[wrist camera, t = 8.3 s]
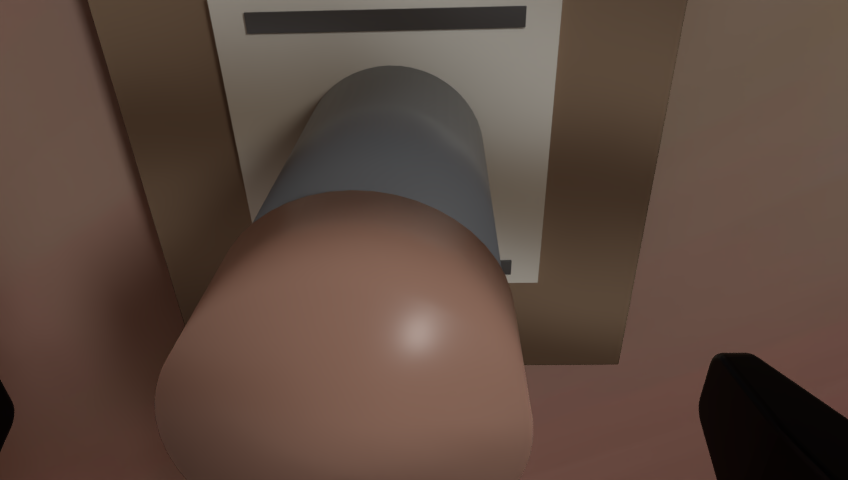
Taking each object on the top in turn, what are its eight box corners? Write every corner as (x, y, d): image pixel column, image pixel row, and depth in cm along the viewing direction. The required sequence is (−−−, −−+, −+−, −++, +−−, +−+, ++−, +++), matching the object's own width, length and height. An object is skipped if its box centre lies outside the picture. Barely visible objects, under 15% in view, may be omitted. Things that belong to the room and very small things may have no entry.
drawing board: (611, 345, 18) (620, 370, 17) (206, 348, 18) (194, 373, 17) (709, -202, 11) (733, -208, 10) (56, -180, 11) (24, -184, 10)
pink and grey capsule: (485, 234, 15) (522, 550, 8) (313, 236, 15) (201, 548, 8) (490, 58, 12) (547, 283, 6) (288, 62, 13) (104, 287, 6)
